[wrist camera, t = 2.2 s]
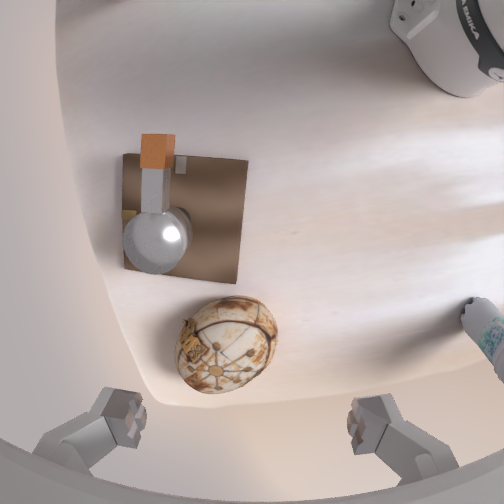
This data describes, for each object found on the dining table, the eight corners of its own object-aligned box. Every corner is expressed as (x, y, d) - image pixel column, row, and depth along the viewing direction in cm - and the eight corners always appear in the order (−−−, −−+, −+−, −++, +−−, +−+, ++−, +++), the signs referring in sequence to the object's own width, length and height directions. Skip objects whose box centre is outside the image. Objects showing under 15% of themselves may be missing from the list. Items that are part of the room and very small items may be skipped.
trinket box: (283, 294, 40) (285, 328, 33) (266, 377, 46) (264, 414, 38) (182, 280, 41) (164, 310, 33) (181, 364, 46) (168, 399, 39)
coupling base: (127, 153, 35) (104, 157, 29) (248, 160, 35) (243, 164, 29) (128, 265, 40) (108, 284, 35) (236, 280, 40) (231, 303, 34)
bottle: (485, 321, 40) (547, 396, 21) (454, 333, 41) (513, 418, 22) (489, 287, 38) (563, 359, 19) (457, 298, 39) (529, 382, 20)
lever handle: (191, 262, 32) (181, 279, 29) (139, 255, 33) (123, 270, 29) (199, 135, 28) (187, 135, 24) (141, 133, 28) (123, 134, 24)
